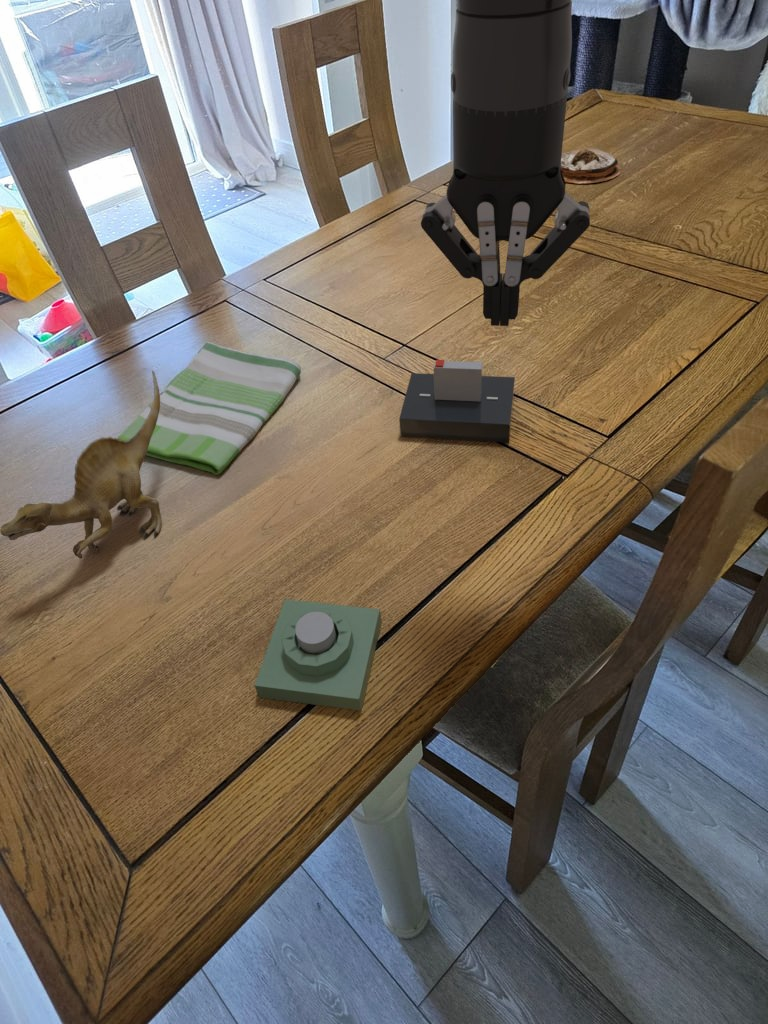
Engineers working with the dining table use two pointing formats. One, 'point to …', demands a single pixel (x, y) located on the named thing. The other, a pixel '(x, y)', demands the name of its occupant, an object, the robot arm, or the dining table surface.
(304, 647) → the button
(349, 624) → the button block
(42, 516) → the dinosaur figurine
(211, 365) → the dish towel
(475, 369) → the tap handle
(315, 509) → the dining table surface
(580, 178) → the powdered cake
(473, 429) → the lever base
